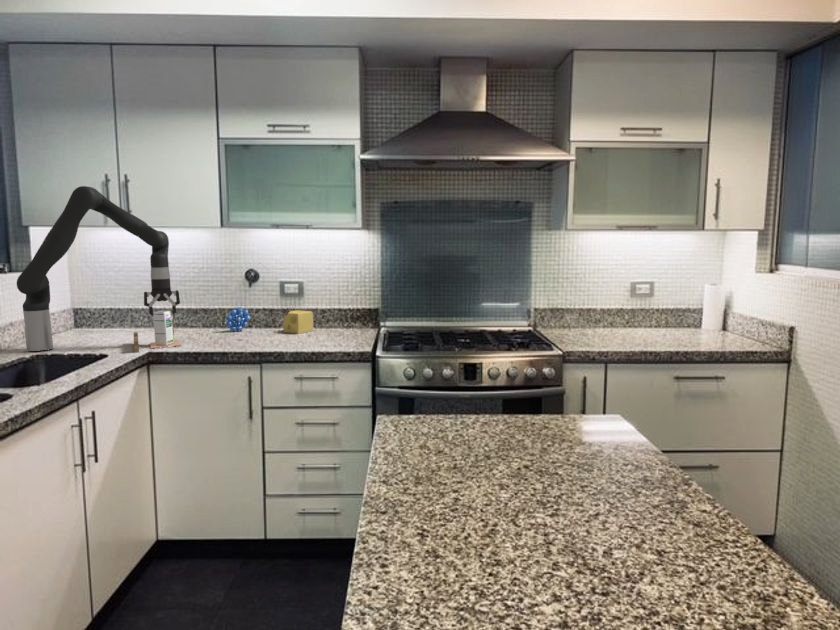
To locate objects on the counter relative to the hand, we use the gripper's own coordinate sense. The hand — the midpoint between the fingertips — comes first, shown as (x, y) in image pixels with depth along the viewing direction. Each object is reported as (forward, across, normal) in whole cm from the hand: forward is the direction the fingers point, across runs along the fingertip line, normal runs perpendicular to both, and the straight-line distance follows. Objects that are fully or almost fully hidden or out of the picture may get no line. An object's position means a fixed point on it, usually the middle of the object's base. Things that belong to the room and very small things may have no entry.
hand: (162, 314), depth 254 cm
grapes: (+13, -35, -21) cm, 43 cm away
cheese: (+13, -61, -6) cm, 63 cm away
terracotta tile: (+13, 0, 0) cm, 13 cm away
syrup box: (+13, 0, 0) cm, 13 cm away
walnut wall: (+14, +11, 0) cm, 18 cm away
